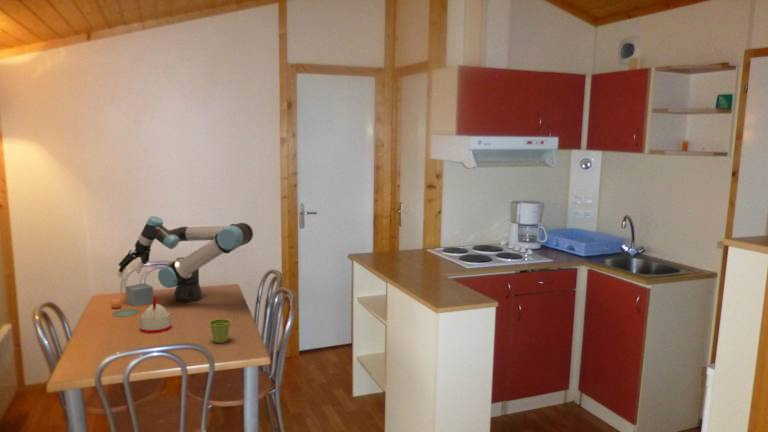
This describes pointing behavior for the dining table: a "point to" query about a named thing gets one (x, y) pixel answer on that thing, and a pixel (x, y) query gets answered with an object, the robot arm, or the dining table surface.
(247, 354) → the dining table surface
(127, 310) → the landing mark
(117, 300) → the ball
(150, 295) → the grey-blue rounded block
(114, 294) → the dining table surface
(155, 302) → the white and red dome
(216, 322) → the plant pot
